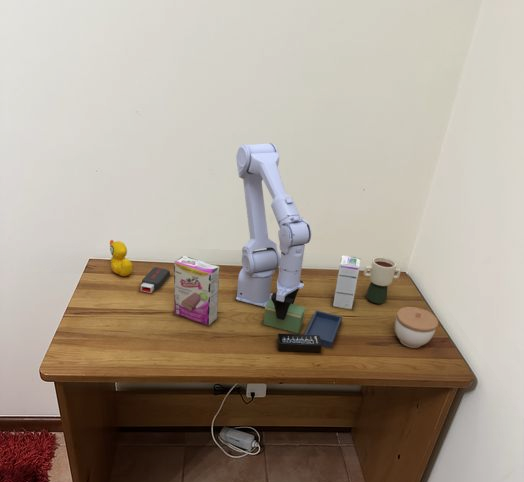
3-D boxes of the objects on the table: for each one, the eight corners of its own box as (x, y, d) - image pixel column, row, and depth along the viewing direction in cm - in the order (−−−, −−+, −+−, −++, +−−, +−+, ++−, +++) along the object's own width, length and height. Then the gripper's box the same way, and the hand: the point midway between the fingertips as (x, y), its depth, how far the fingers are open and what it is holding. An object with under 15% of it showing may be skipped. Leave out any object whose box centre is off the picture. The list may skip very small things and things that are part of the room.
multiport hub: (276, 340, 128) (277, 333, 126) (318, 342, 128) (319, 335, 127) (278, 350, 124) (279, 343, 123) (320, 352, 125) (322, 345, 123)
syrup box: (351, 310, 144) (361, 266, 137) (331, 306, 145) (340, 262, 137) (352, 300, 149) (361, 257, 142) (333, 297, 150) (341, 254, 142)
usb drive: (170, 275, 152) (169, 268, 151) (154, 294, 142) (154, 286, 141) (154, 272, 153) (154, 265, 152) (137, 291, 143) (137, 282, 142)
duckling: (104, 267, 154) (102, 238, 148) (121, 263, 157) (118, 234, 151) (121, 282, 146) (118, 252, 141) (137, 278, 149) (135, 248, 144)
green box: (263, 324, 134) (265, 305, 131) (268, 316, 138) (270, 298, 134) (298, 333, 131) (301, 315, 128) (302, 325, 135) (305, 307, 132)
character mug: (390, 295, 154) (399, 258, 147) (395, 307, 148) (405, 269, 141) (356, 292, 153) (364, 255, 147) (359, 304, 147) (368, 266, 141)
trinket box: (424, 358, 127) (434, 328, 122) (385, 342, 131) (392, 313, 126) (435, 339, 135) (444, 310, 130) (397, 325, 139) (405, 297, 134)
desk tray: (303, 340, 129) (304, 334, 128) (315, 315, 140) (315, 310, 139) (331, 347, 127) (332, 342, 126) (341, 322, 138) (342, 316, 137)
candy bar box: (173, 315, 134) (172, 261, 125) (183, 306, 138) (183, 254, 129) (208, 327, 130) (210, 273, 122) (218, 318, 134) (220, 265, 126)
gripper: (298, 282, 118) (291, 329, 125) (312, 259, 130) (305, 302, 137) (270, 276, 120) (265, 322, 127) (287, 253, 132) (281, 296, 139)
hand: (284, 311), depth 132 cm, fingers open, 7 cm apart
